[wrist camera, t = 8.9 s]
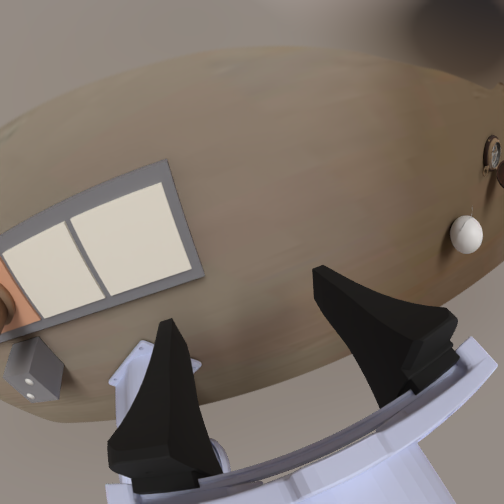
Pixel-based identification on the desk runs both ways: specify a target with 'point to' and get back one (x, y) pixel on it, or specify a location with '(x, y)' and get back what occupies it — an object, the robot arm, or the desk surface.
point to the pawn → (6, 307)
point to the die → (34, 371)
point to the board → (97, 250)
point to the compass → (494, 158)
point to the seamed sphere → (466, 234)
